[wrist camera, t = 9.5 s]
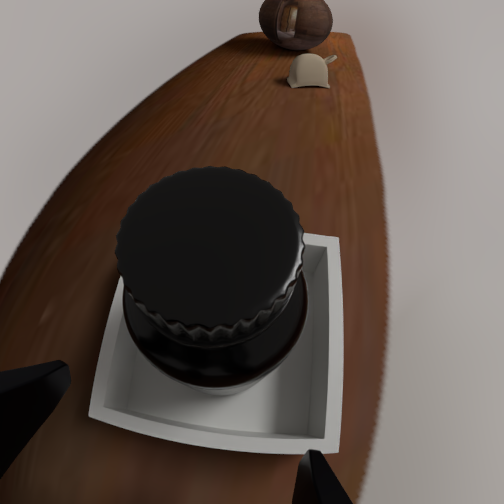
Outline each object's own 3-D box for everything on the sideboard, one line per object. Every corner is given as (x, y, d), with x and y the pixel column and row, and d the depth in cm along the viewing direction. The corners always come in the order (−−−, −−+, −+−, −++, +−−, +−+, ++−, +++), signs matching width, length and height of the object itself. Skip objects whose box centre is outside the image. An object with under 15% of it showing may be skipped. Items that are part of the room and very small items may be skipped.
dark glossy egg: (284, 36, 54) (290, -15, 42) (338, 55, 50) (350, -2, 37) (241, 45, 48) (245, -17, 35) (301, 64, 43) (312, -7, 31)
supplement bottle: (164, 394, 15) (49, 357, 5) (170, 292, 19) (112, 147, 8) (279, 396, 15) (366, 367, 5) (273, 293, 19) (318, 146, 9)
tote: (314, 443, 15) (338, 452, 11) (119, 417, 15) (88, 416, 11) (320, 270, 21) (338, 237, 17) (156, 252, 21) (141, 216, 17)
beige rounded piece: (281, 77, 39) (284, 49, 34) (326, 78, 41) (332, 52, 36) (290, 88, 37) (295, 57, 32) (338, 89, 39) (345, 61, 34)
